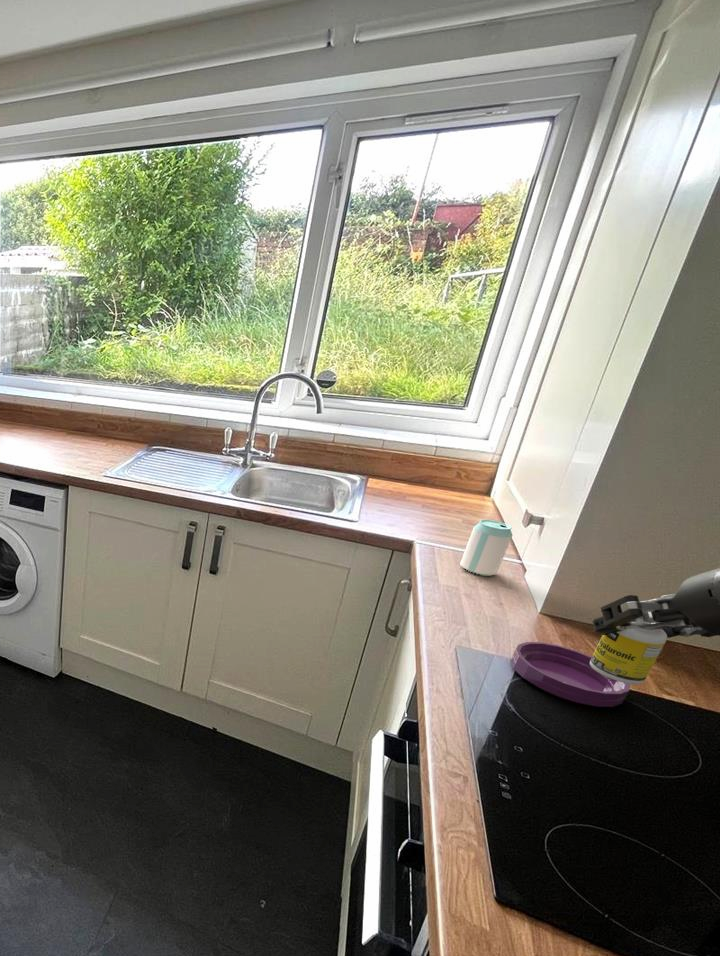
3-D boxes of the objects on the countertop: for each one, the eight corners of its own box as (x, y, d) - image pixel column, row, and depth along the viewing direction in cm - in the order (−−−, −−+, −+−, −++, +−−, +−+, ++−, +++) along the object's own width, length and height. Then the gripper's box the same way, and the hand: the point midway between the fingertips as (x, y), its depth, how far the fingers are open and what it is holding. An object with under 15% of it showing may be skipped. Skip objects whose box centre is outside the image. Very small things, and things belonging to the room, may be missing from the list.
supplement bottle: (577, 662, 81) (606, 601, 77) (610, 660, 82) (641, 599, 78) (620, 686, 76) (653, 622, 73) (655, 684, 77) (690, 620, 73)
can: (469, 562, 142) (486, 516, 138) (502, 574, 136) (521, 527, 132) (453, 567, 139) (470, 520, 135) (486, 579, 133) (505, 532, 129)
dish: (640, 698, 95) (649, 682, 94) (589, 718, 90) (598, 702, 89) (540, 650, 107) (547, 635, 106) (490, 665, 102) (497, 650, 101)
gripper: (823, 569, 63) (675, 609, 79) (670, 556, 66) (556, 597, 81) (851, 636, 61) (692, 664, 76) (691, 621, 63) (568, 651, 78)
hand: (622, 630), depth 78 cm, fingers closed on supplement bottle, 5 cm apart
